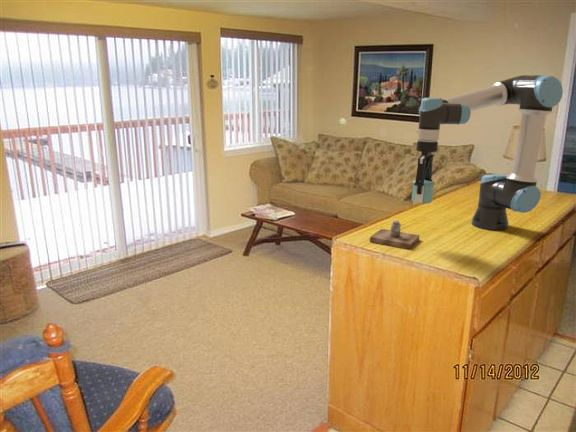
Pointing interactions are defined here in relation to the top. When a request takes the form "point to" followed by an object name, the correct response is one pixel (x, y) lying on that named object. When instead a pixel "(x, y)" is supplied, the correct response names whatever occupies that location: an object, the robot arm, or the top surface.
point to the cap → (427, 191)
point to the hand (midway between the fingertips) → (421, 200)
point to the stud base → (394, 237)
